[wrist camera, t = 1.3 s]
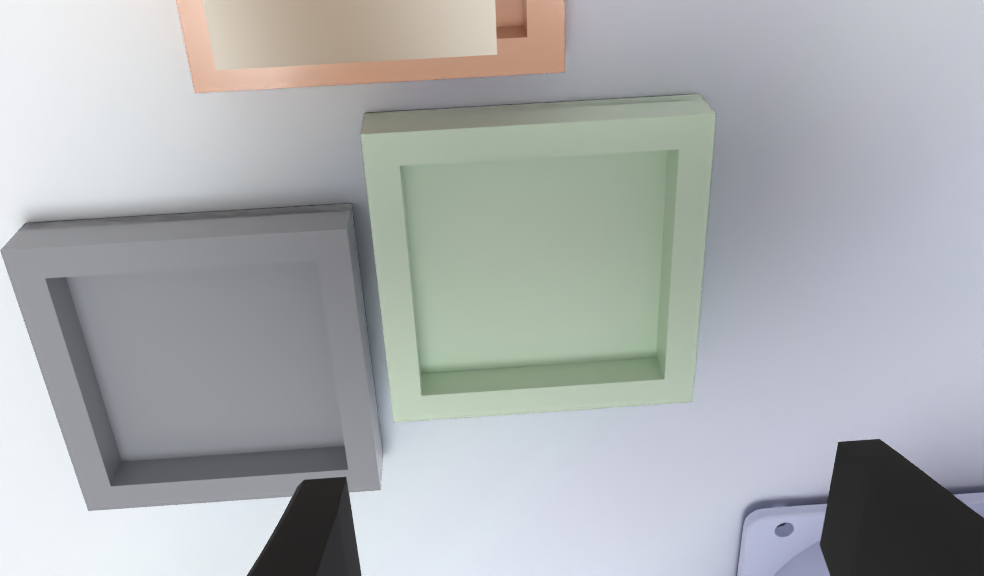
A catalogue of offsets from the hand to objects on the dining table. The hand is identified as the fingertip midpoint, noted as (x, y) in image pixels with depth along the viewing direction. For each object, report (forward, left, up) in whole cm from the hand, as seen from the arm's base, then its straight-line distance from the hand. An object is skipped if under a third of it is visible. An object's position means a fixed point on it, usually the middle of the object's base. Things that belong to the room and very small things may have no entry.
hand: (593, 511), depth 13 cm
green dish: (0, 0, -8) cm, 8 cm away
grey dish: (+8, +2, -8) cm, 11 cm away
